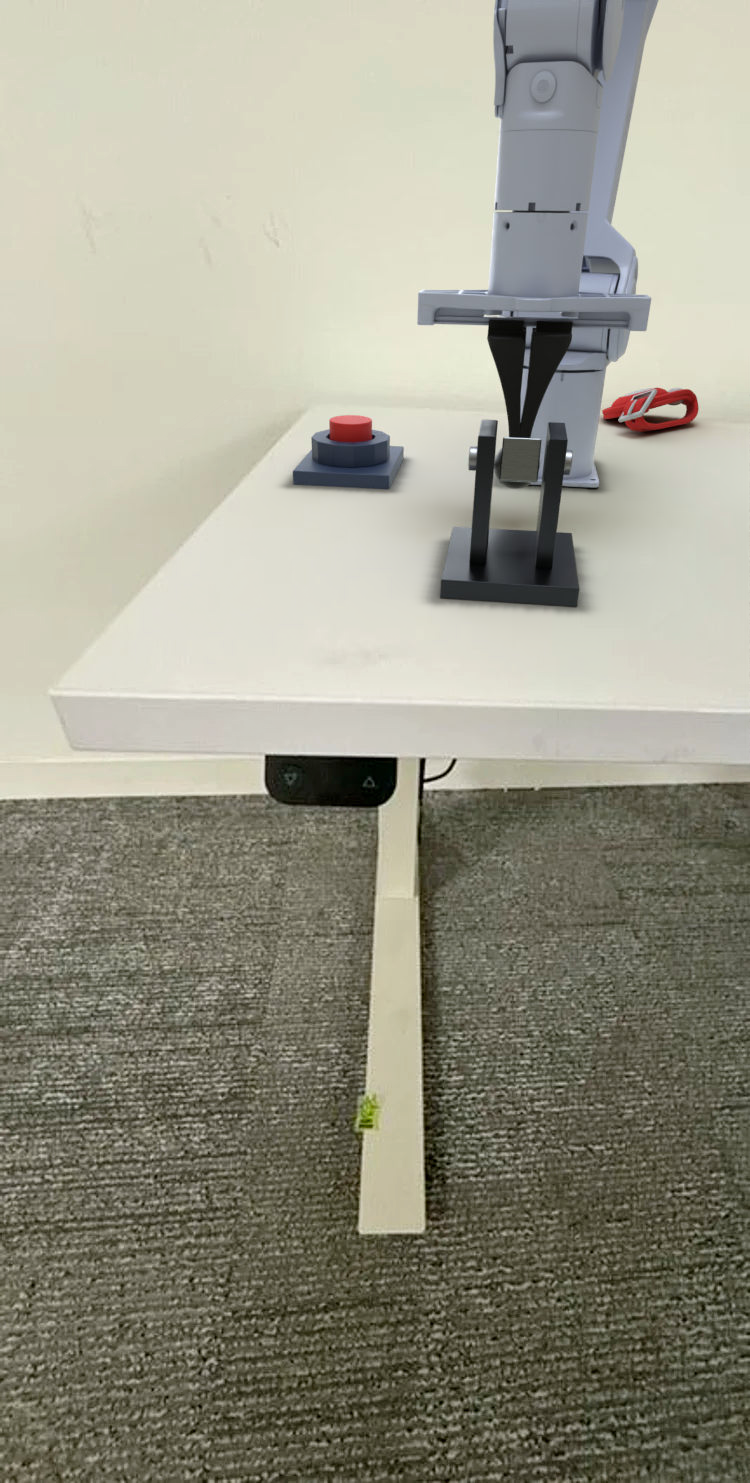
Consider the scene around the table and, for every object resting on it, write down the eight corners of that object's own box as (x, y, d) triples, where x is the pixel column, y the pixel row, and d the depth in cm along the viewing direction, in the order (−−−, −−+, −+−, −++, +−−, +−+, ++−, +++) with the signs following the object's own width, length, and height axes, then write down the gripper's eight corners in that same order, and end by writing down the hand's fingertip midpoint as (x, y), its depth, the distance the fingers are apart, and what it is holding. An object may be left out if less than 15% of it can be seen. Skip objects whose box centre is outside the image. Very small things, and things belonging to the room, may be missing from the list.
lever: (492, 487, 63) (496, 441, 62) (536, 490, 63) (541, 443, 62) (490, 487, 51) (494, 429, 50) (545, 489, 50) (551, 431, 49)
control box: (317, 455, 80) (316, 421, 78) (403, 459, 79) (404, 425, 77) (293, 485, 71) (291, 448, 70) (388, 490, 70) (389, 452, 69)
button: (334, 435, 75) (333, 414, 75) (374, 437, 75) (374, 415, 74) (326, 444, 72) (325, 423, 72) (368, 446, 72) (368, 424, 71)
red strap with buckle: (587, 403, 96) (675, 379, 96) (594, 443, 98) (680, 420, 97) (622, 396, 85) (722, 369, 84) (629, 443, 86) (727, 416, 86)
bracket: (452, 543, 60) (459, 409, 55) (569, 549, 59) (587, 414, 54) (439, 598, 51) (447, 446, 47) (577, 607, 50) (598, 452, 46)
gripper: (415, 211, 50) (408, 451, 57) (672, 214, 48) (632, 461, 56) (427, 210, 56) (419, 428, 63) (656, 213, 54) (621, 436, 62)
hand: (518, 442), depth 60 cm, fingers closed, pressing on lever
